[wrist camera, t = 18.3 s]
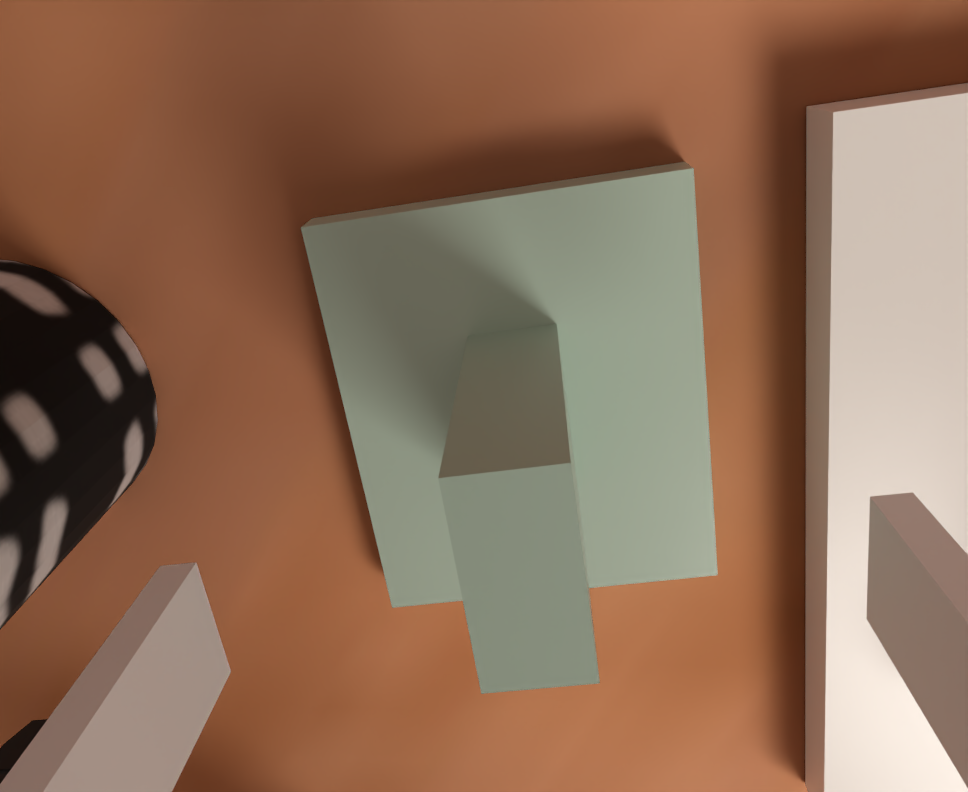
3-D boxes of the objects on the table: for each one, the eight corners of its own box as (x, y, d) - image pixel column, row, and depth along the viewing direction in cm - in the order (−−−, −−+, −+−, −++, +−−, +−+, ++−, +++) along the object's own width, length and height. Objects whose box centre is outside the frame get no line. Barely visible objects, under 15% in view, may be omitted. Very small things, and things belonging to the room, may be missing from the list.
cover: (707, 547, 26) (796, 796, 18) (399, 579, 27) (338, 830, 19) (683, 160, 22) (785, 238, 13) (314, 216, 23) (182, 322, 14)
